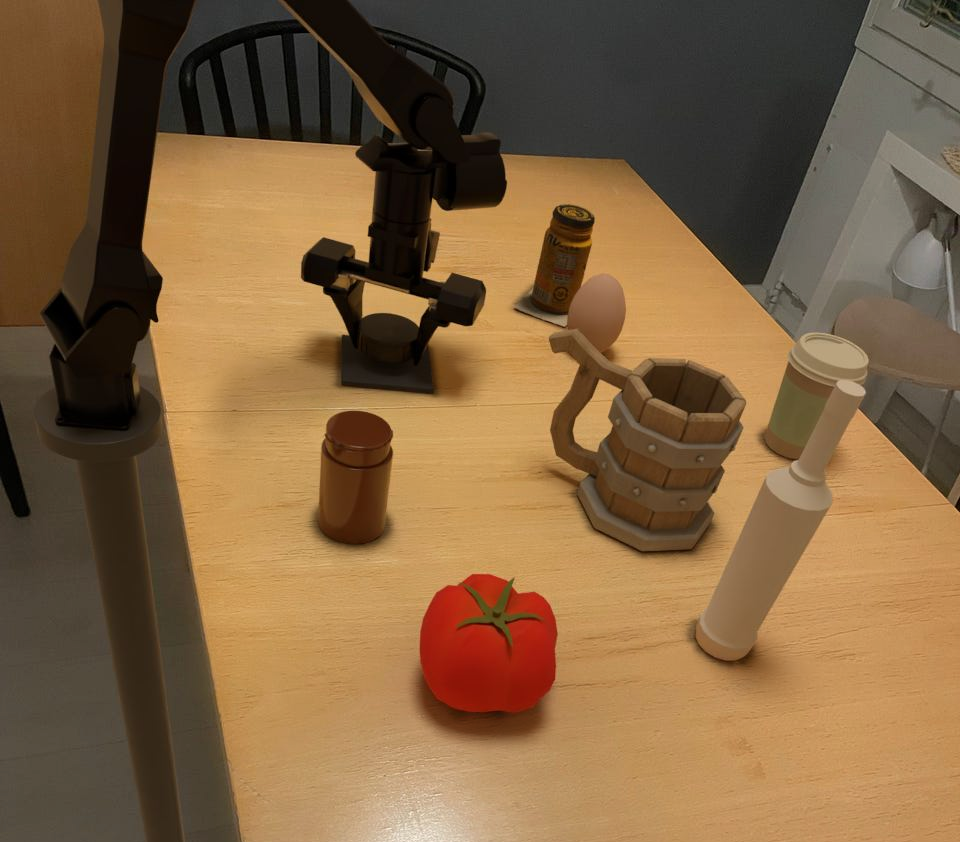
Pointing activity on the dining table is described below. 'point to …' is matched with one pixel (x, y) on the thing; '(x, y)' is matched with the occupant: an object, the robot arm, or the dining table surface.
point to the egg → (598, 311)
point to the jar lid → (387, 337)
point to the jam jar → (355, 477)
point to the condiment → (560, 264)
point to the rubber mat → (384, 371)
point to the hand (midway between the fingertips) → (387, 355)
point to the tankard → (649, 444)
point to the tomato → (488, 646)
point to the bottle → (775, 535)
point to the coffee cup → (811, 388)
